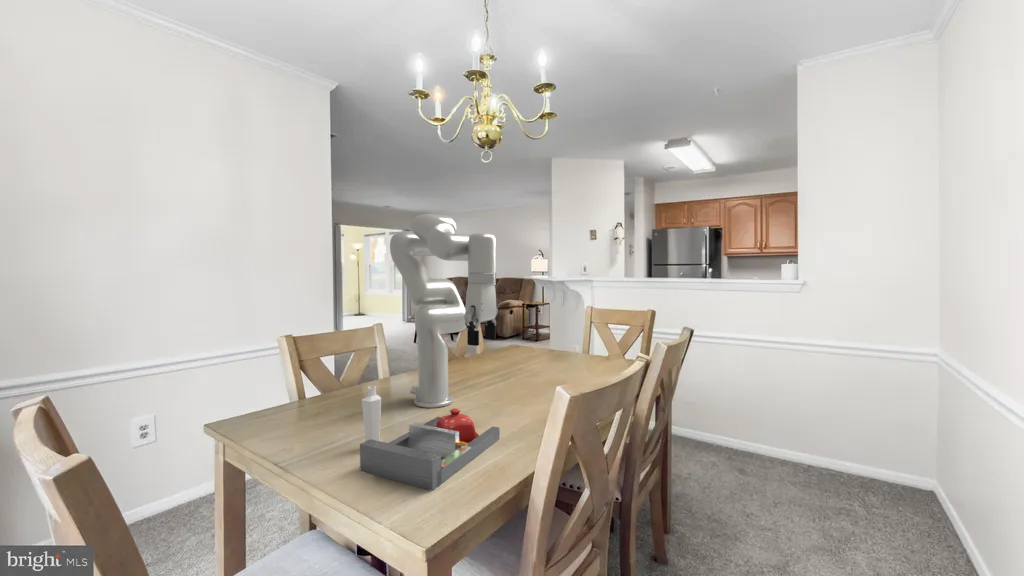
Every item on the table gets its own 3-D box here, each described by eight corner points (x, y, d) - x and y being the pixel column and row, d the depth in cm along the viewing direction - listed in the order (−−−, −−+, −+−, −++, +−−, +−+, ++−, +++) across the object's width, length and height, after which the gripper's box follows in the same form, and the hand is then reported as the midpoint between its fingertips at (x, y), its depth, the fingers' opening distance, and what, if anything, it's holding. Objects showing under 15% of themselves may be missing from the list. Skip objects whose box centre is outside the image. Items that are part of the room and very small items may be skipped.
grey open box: (360, 471, 95) (359, 444, 94) (438, 427, 120) (437, 405, 120) (432, 490, 86) (432, 460, 86) (499, 439, 112) (499, 416, 112)
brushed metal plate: (409, 449, 105) (409, 425, 104) (413, 447, 106) (413, 422, 106) (464, 462, 98) (464, 435, 98) (468, 459, 99) (468, 433, 99)
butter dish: (427, 437, 114) (427, 405, 114) (470, 430, 119) (469, 399, 118) (438, 454, 103) (438, 419, 103) (484, 446, 108) (484, 412, 108)
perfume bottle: (377, 442, 110) (375, 383, 109) (385, 447, 107) (384, 387, 106) (359, 447, 107) (358, 387, 106) (367, 453, 104) (366, 390, 103)
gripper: (484, 278, 128) (484, 336, 129) (453, 280, 112) (453, 346, 113) (508, 278, 125) (507, 338, 126) (478, 281, 109) (478, 349, 110)
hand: (482, 342), depth 120 cm, fingers open, 9 cm apart
